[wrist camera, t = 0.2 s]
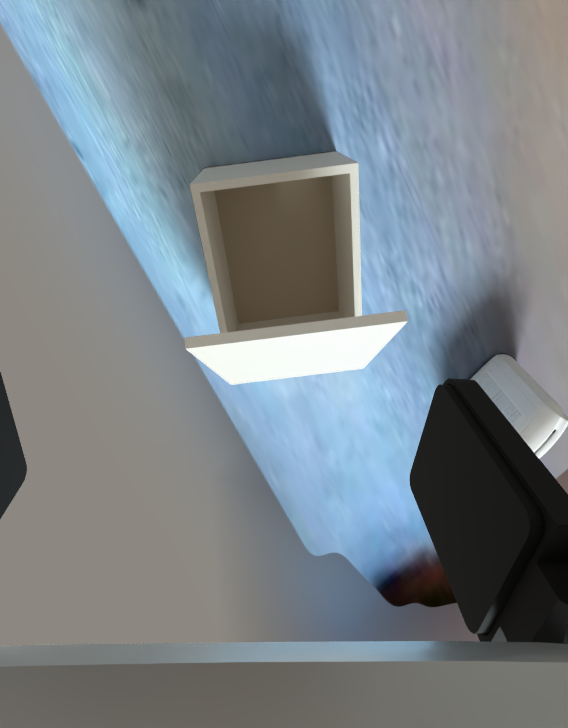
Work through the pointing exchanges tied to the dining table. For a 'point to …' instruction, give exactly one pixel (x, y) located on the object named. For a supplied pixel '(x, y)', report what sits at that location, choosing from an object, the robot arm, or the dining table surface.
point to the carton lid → (296, 347)
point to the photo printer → (522, 402)
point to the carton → (281, 240)
